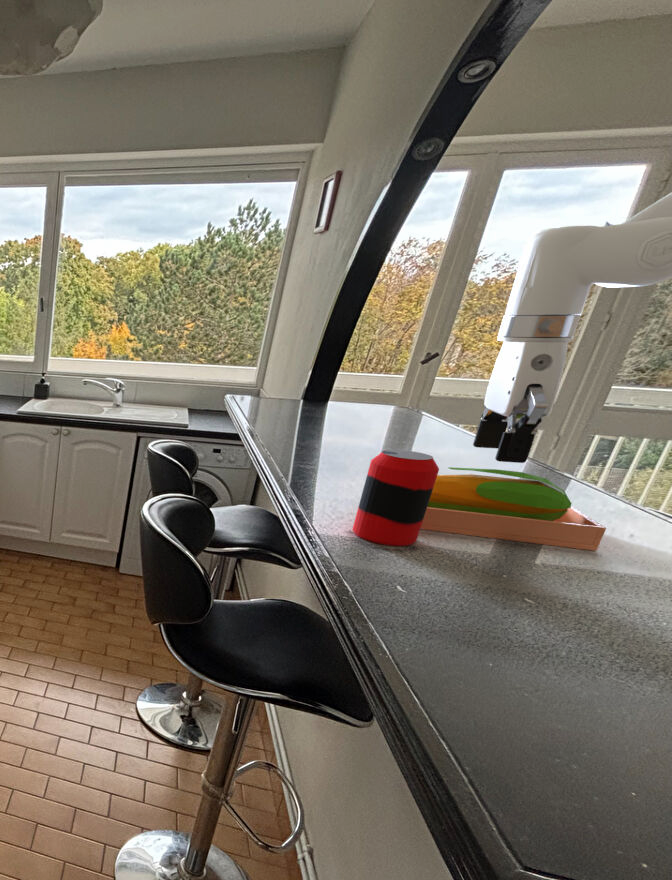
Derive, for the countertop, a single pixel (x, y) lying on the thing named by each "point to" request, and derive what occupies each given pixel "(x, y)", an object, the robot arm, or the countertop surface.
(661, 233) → the robot arm
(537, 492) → the corn
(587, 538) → the pan
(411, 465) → the soda can
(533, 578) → the countertop surface
